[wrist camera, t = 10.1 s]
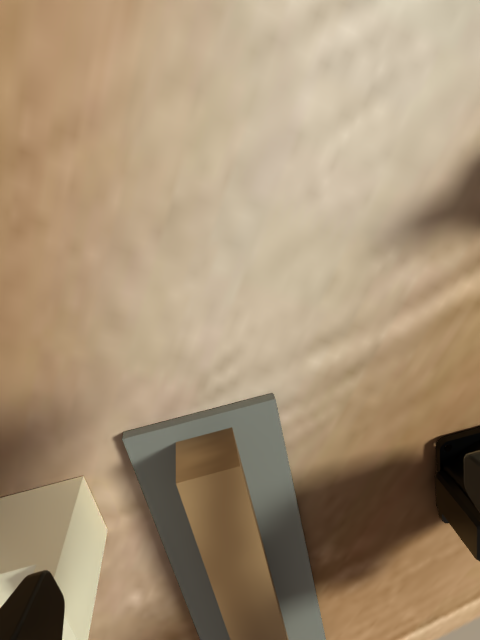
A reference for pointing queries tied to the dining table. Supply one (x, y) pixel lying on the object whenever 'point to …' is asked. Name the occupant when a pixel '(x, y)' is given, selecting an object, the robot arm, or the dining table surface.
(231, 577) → the rail
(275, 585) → the mat
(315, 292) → the dining table surface
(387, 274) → the dining table surface
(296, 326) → the dining table surface
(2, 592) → the post
